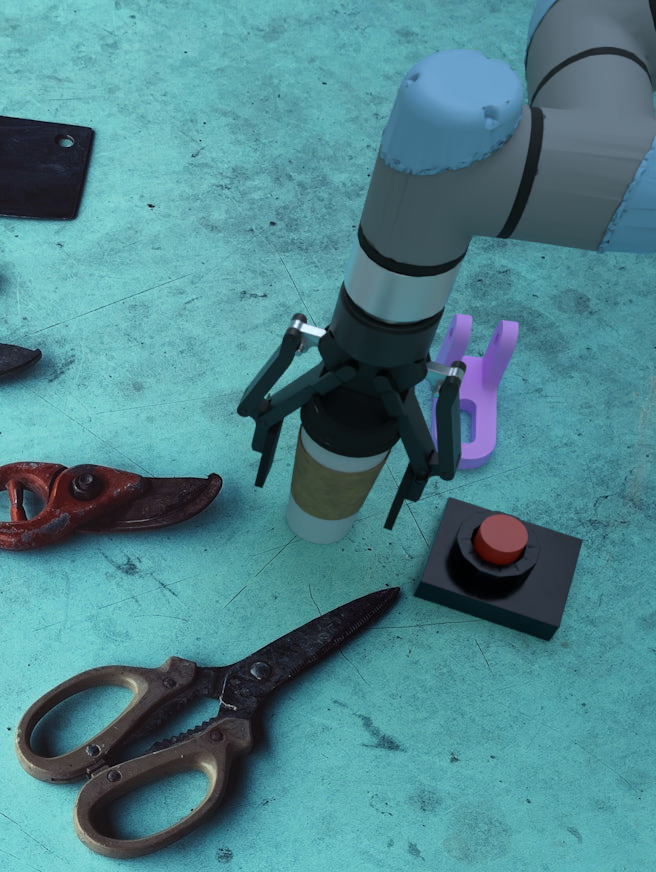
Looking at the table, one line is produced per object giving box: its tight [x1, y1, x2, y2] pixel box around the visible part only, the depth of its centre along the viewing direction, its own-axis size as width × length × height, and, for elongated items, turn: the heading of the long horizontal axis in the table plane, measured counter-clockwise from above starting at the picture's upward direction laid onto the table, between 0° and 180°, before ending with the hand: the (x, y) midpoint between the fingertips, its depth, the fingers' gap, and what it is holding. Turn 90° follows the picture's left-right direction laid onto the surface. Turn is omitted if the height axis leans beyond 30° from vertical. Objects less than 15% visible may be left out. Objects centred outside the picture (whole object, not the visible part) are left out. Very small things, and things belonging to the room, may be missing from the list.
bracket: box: [430, 313, 520, 471], centre depth 110 cm, size 13×6×7 cm, turn 170°
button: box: [474, 514, 528, 565], centre depth 101 cm, size 4×4×2 cm
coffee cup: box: [285, 387, 401, 545], centre depth 100 cm, size 8×8×15 cm
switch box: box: [412, 496, 584, 642], centre depth 103 cm, size 12×10×4 cm
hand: (326, 497), depth 105 cm, fingers open, 11 cm apart
